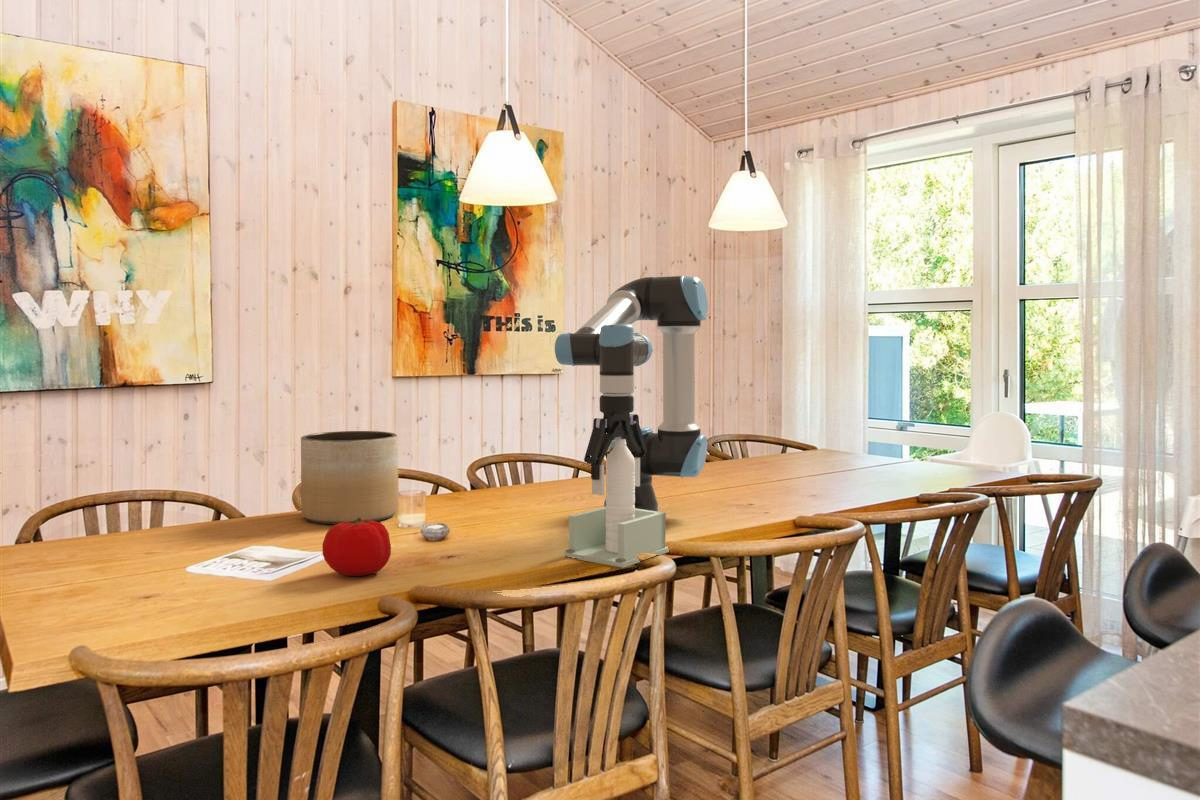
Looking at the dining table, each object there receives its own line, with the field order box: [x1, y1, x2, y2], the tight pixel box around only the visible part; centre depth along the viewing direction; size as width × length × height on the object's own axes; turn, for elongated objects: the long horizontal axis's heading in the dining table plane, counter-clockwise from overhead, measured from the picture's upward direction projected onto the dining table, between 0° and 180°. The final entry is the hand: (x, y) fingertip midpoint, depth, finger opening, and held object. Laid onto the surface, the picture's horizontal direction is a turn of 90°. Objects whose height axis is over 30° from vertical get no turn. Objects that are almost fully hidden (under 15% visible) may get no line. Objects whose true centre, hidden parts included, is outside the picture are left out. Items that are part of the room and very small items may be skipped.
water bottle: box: [605, 437, 635, 553], centre depth 195 cm, size 9×6×25 cm
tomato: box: [321, 518, 392, 577], centre depth 178 cm, size 12×13×12 cm
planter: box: [300, 430, 400, 525], centre depth 237 cm, size 25×25×22 cm
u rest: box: [563, 506, 669, 569], centre depth 196 cm, size 18×16×9 cm
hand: (616, 490), depth 195 cm, fingers open, 13 cm apart
